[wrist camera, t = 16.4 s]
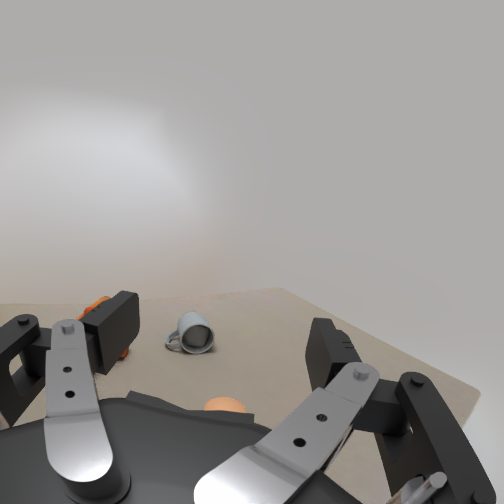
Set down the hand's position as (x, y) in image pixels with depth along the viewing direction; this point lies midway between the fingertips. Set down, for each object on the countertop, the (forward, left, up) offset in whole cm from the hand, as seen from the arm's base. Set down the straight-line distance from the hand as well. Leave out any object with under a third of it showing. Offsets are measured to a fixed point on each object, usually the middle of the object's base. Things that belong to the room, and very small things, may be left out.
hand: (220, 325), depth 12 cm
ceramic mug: (+19, +40, -30) cm, 54 cm away
